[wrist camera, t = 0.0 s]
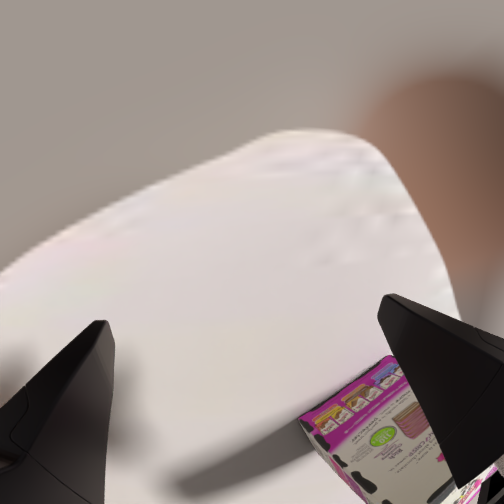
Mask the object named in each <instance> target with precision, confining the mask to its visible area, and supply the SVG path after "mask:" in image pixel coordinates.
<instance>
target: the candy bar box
mask: <svg viewBox="0 0 504 504" xmlns="http://www.w3.org/2000/svg"><path fill="white" fill-rule="evenodd" d="M298 421H299V422H300V424H301V426H302V427H303V429H304V431H305V433H306V434H307V436H308V438H309V440H310V441H311V443H312V445H313V446H314V448H315V450H316V451H317V453H318V454H319V455H320V456H321V457H322V458H323V459H324V460H325V461H326V462H327V463H328V465H329V466H330V467H331V468H332V469H333V470H334V471H335V472H336V473H337V474H338V476H339V477H340V478H341V479H342V480H343V481H344V482H345V483H346V484H347V485H348V486H349V487H350V488H351V489H352V490H353V491H354V492H355V493H356V494H357V495H358V496H359V497H360V498H361V499H362V500H363V501H364V502H365V503H366V504H468V503H469V502H470V501H471V500H472V499H473V498H474V497H475V495H476V494H477V493H478V492H479V491H480V487H481V483H482V482H483V481H485V480H486V479H487V478H488V477H489V476H490V475H491V474H492V473H494V472H495V471H496V470H497V468H496V466H495V465H494V463H493V464H492V465H491V466H490V467H488V468H487V469H486V470H485V471H483V472H482V473H481V474H480V475H478V476H477V477H476V478H475V479H473V480H472V481H471V482H469V483H468V484H466V485H465V486H464V487H462V488H461V489H459V490H458V488H457V486H456V484H455V482H454V479H453V477H452V474H451V472H450V470H449V467H448V465H447V463H446V460H445V458H444V456H443V454H442V451H441V449H440V447H439V444H438V442H437V440H436V438H435V436H434V433H433V431H432V429H431V427H430V425H429V423H428V421H427V419H426V417H425V415H424V413H423V411H422V409H421V407H420V405H419V403H418V401H417V399H416V397H415V395H414V393H413V391H412V389H411V387H410V385H409V383H408V381H407V379H406V378H405V376H404V374H403V372H402V370H401V368H400V366H399V365H398V363H397V361H396V359H395V357H394V356H392V355H388V356H386V357H385V358H384V359H383V360H381V361H380V362H379V363H378V364H376V365H375V366H374V367H373V368H371V369H370V370H369V371H367V372H366V373H365V374H364V375H362V376H361V377H360V378H358V379H357V380H355V381H354V382H353V383H351V384H350V385H349V386H347V387H346V388H345V389H343V390H342V391H340V392H339V393H337V394H336V395H334V396H333V397H331V398H330V399H328V400H327V401H325V402H324V403H322V404H321V405H319V406H318V407H316V408H314V409H313V410H311V411H310V412H308V413H306V414H305V415H303V416H301V417H300V418H298Z"/></svg>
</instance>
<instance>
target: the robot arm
mask: <svg viewBox="0 0 504 504" xmlns="http://www.w3.org/2000/svg"><path fill="white" fill-rule="evenodd" d="M377 318H378V322H379V324H380V326H381V328H382V330H383V333H384V335H385V337H386V340H387V342H388V344H389V347H390V349H391V351H392V353H393V355H394V357H395V359H396V361H397V363H398V365H399V366H400V368H401V370H402V372H403V374H404V376H405V378H406V379H407V381H408V383H409V385H410V387H411V389H412V391H413V393H414V395H415V397H416V399H417V401H418V403H419V405H420V407H421V409H422V411H423V413H424V415H425V417H426V419H427V421H428V423H429V425H430V427H431V429H432V431H433V433H434V436H435V438H436V440H437V442H438V444H439V447H440V449H441V451H442V454H443V456H444V458H445V460H446V463H447V465H448V467H449V470H450V472H451V474H452V477H453V479H454V482H455V484H456V486H457V488H458V490H459V489H461V488H462V487H464V486H465V485H466V484H468V483H469V482H471V481H472V480H473V479H475V478H476V477H477V476H478V475H480V474H481V473H482V472H483V471H485V470H486V469H487V468H488V467H490V466H491V465H492V464H493V463H494V465H495V466H496V468H497V470H496V471H495V472H494V473H492V474H491V475H490V476H489V477H488V478H487V479H486V480H485V481H483V482H482V483H481V487H480V493H479V498H478V502H477V504H504V339H503V338H500V337H498V336H495V335H493V334H490V333H488V332H485V331H483V330H481V329H478V328H476V327H475V328H474V327H473V326H471V325H469V324H466V323H464V322H462V321H459V320H457V319H455V318H452V317H450V316H447V315H445V314H443V313H440V312H438V311H436V310H433V309H431V308H428V307H426V306H424V305H421V304H419V303H416V302H414V301H411V300H409V299H407V298H404V297H402V296H399V295H397V294H387V295H384V296H383V298H382V301H381V304H380V307H379V311H378V315H377ZM114 359H115V342H114V338H113V335H112V332H111V329H110V325H109V323H108V321H106V320H95V321H93V322H92V323H91V324H90V325H89V326H88V327H86V328H85V329H84V330H83V331H82V332H81V333H80V334H79V335H78V336H76V337H75V338H74V339H73V340H72V341H71V342H70V343H69V344H68V345H67V346H65V347H64V348H63V349H62V350H61V351H60V352H59V353H58V354H57V355H56V356H55V357H54V358H53V359H51V360H50V361H49V362H48V363H47V364H46V365H45V366H44V367H43V368H42V369H41V370H40V371H39V372H38V373H37V374H36V375H35V376H34V377H33V378H32V379H30V380H29V381H28V382H27V383H26V385H25V386H26V387H25V386H23V387H22V388H21V389H20V390H19V391H18V392H17V393H16V394H15V395H14V396H13V397H12V398H11V399H10V400H9V401H8V402H7V403H6V404H4V405H3V406H2V407H1V408H0V504H104V493H105V467H106V452H107V440H108V429H109V420H110V412H111V404H112V396H113V384H114Z"/></svg>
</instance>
